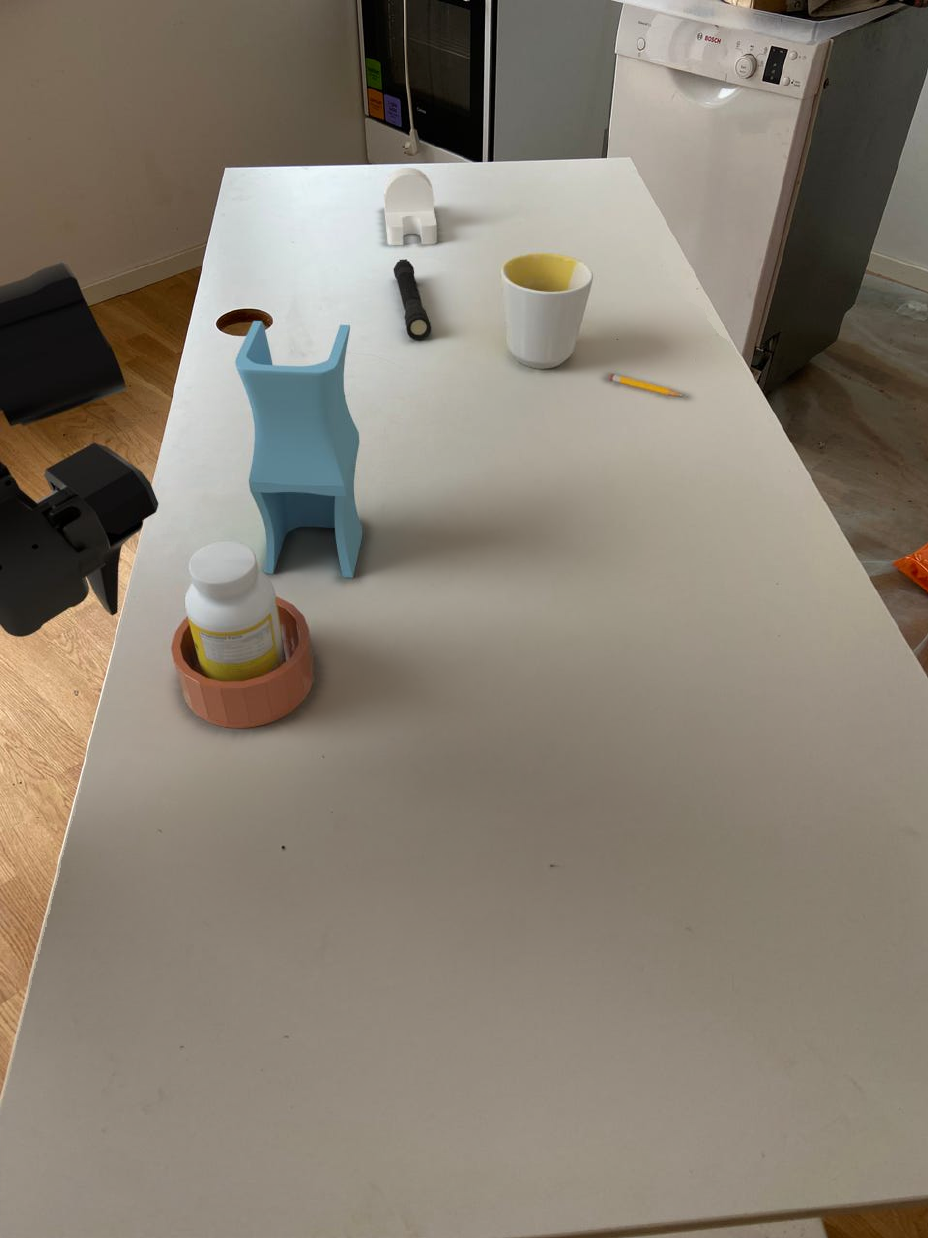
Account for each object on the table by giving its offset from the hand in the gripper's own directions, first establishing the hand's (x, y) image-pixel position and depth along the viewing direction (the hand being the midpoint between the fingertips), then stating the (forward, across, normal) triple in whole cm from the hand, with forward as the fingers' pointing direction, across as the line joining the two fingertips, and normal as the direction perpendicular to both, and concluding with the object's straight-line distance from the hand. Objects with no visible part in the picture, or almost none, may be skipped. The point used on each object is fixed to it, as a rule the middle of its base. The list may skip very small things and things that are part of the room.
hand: (48, 652), depth 61 cm
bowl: (+14, +12, 0) cm, 18 cm away
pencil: (+20, +70, +5) cm, 73 cm away
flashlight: (+18, +64, +37) cm, 77 cm away
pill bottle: (+13, +12, 0) cm, 18 cm away
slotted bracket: (+20, +82, +56) cm, 102 cm away
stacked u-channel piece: (+15, +26, +9) cm, 31 cm away
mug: (+19, +68, +19) cm, 73 cm away
